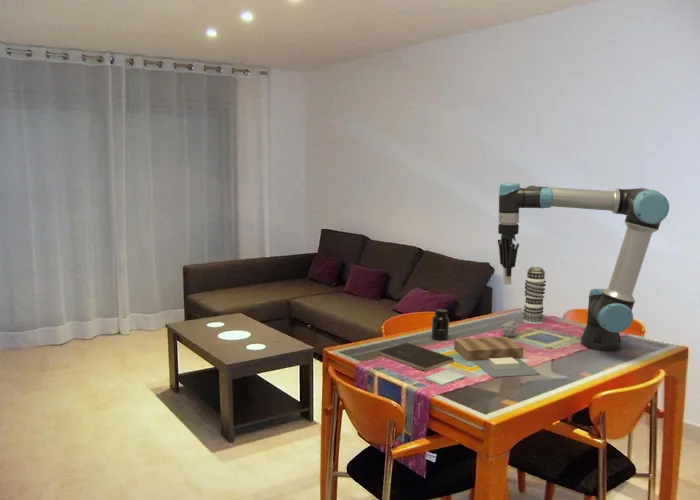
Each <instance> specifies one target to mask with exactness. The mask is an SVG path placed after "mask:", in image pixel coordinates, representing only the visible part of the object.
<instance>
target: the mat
mask: <svg viewBox="0 0 700 500" xmlns="http://www.w3.org/2000/svg"><path fill="white" fill-rule="evenodd" d="M515 360H516V361H517V362H519V368H518V369H499V370H495V369H494V368H493V367H492V366H491V365H489V360H480V361H473V362H474V363H475V365H477V366H478V368H480V367H481V368H482V369H481V368H480V369H481V370H483V372H484V373H486V372H487V373H488V374H489V375H490V376H491V378H492V377H493V378H508V377H509V378H510V377H521V376H522V377H526V376H541V373H539V372H538V370H536V369H534V368H532V366H530V365H528V364H527V363H526V362H525V361H523V360H522V359H521V358H517V359H515ZM487 373H486V374H487ZM488 374H487V375H488ZM489 375H488V376H489ZM490 376H489V377H490Z"/></svg>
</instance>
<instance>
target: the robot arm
mask: <svg viewBox="0 0 700 500" xmlns="http://www.w3.org/2000/svg"><path fill="white" fill-rule="evenodd" d="M552 207H556V208H568V209H569V208H570V209H583V210H594V211H596V210H597V211H599V210H600V211H607V212H608V211H611V212H612V213H613V214H615V215H616V214H617V215H624V216H625V219H624V224H625V226H626V230H625V235H624V238H623V241H622V244H621V247H620V249H619V252H618V256H617V258H616V262H615V265H614V269H613V272H612V275H611V278H610V281H609V284H608V288H592V289H591V290H590V291H589V295H588V305H587V306H588V308H587V320H586V321H587V322H586V326H585V328H584V330H583V333H582V335H581V337H580V344H581V345H582V346H584V347H586V348H588V349H593V350H597V351H605V352H606V351H607V352H610V351H611V352H612V351H613V352H615V351H618V350H620V349H622V339H621V336H620V335H621V334H620V333H622V332H624V331H626V330H628V329H629V328H630V327H631V325H632V324H633V322H634V313H633V308H634V304H635V303H636V299H635V298H634V296H633V294H634V291H635V289H636V288H635V287H636V285H637V281H638V279H639V276H640V272H641V270H642V266H643V263H644V260H645V257H646V253H647V250H648V247H649V244H650V241H651V237H652V235H653V233H655V232H657V231H659V228H660V226H661V223H662V221H664V220H665V219H666V218H667V216H668V215H669V210H670V203H669V200H668V198H667V197H666V196H665V195H664V194H663V193H661V192H659V190H658V191H657V190H655V189H649V188H644V187H643V188H642V187H640V188H638V187H637V188H616V189H615V190H614V191H613V190H599V189H598V190H597V189H582V188H566V187H565V188H564V187H552V186H551V187H550V186H536V185H529V186H526V187H524V188H523V187H521V184H520V183H518V182H503V183H501V184H500V185H499V193H498V215H497V218H498V223H499V224H498V225H497V226H498V228H497V230H498V231H497V232H498V234H499V235H501V236H500V239H497V243H498V252H499V253H498V254H499V262H500V265H502V269H503V270H502V272H503V273H502V284H503V285H506V286H507V285H508V286H509V285H512V269H513V268H516V262H517V254H518V251H519V250H518V249H519V247H520V244H519V243H516V235H518V234H519V230H520V228H519V227H520V226H519V223H520V209H550V208H552Z"/></svg>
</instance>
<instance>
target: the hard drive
mask: <svg viewBox="0 0 700 500" xmlns="http://www.w3.org/2000/svg"><path fill="white" fill-rule="evenodd" d="M464 378H465V379H466V375H464V374H461V373H459V372H456V371H454V370H451V369H444V370H441V371H439V372H436V373H433V374H429V375H427V376H424V377H422V380H423V379H424V380H427V381H429V382H433V383H435V384H438V385H440V386H443V385H446V384H449V383H452V382H454V381H457V380H460V381H462V380H461V379H463V380H465V379H464ZM424 380H423V381H424ZM427 381H426V382H427ZM429 382H428V383H429ZM457 382H458V381H457ZM452 384H453V383H452ZM449 385H450V384H449ZM440 386H439V387H440ZM446 386H447V385H446Z"/></svg>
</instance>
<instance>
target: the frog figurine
mask: <svg viewBox="0 0 700 500" xmlns="http://www.w3.org/2000/svg"><path fill="white" fill-rule="evenodd" d="M519 324H520V323H518V322H516V320H509V321H507V322H505V323H503V324H502V325H501V328H502V332H503V334H504V337H508V338H511V337H513V336H515V333H516V331H517V330H518V329H519V328H520V327H519V326H520V325H519Z"/></svg>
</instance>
